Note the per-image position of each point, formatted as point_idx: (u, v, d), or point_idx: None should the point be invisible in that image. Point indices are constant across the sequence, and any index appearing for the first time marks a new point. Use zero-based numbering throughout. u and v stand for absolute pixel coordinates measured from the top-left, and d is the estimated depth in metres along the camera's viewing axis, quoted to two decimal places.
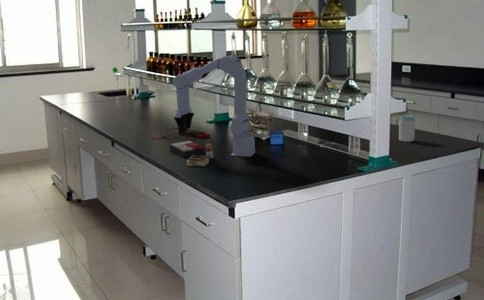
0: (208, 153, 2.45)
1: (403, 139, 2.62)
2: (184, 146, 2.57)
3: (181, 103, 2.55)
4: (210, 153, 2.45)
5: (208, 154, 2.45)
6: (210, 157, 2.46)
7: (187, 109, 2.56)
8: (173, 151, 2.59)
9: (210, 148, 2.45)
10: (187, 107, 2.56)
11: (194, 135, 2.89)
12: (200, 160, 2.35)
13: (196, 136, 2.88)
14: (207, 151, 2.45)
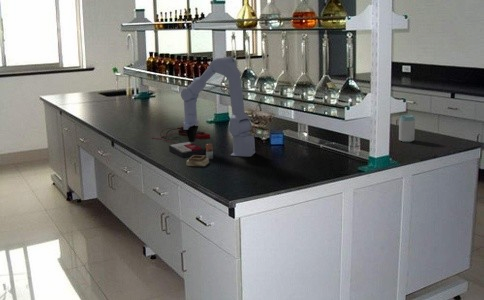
0: (208, 153, 2.45)
1: (403, 139, 2.62)
2: (183, 147, 2.57)
3: (188, 115, 2.62)
4: (210, 153, 2.45)
5: (208, 154, 2.45)
6: (210, 157, 2.46)
7: (194, 121, 2.63)
8: (172, 152, 2.60)
9: (210, 148, 2.45)
10: (194, 119, 2.63)
11: None
12: (200, 160, 2.35)
13: (196, 136, 2.88)
14: (207, 151, 2.45)
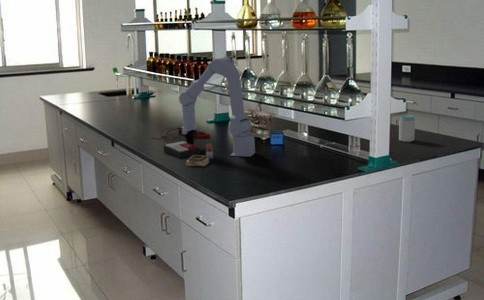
0: (208, 153, 2.45)
1: (403, 139, 2.62)
2: (179, 147, 2.56)
3: (186, 120, 2.60)
4: (210, 153, 2.45)
5: (208, 154, 2.45)
6: (210, 157, 2.46)
7: (193, 125, 2.61)
8: (168, 152, 2.58)
9: (210, 148, 2.45)
10: (193, 124, 2.61)
11: None
12: (200, 160, 2.35)
13: (196, 136, 2.88)
14: (207, 151, 2.45)
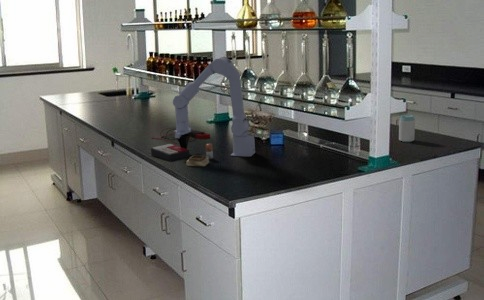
0: (208, 153, 2.45)
1: (403, 139, 2.62)
2: (167, 149, 2.52)
3: (180, 123, 2.52)
4: (210, 153, 2.45)
5: (208, 154, 2.45)
6: (210, 157, 2.46)
7: (186, 129, 2.54)
8: (156, 155, 2.54)
9: (210, 148, 2.45)
10: (186, 127, 2.54)
11: (194, 135, 2.89)
12: (200, 160, 2.35)
13: (196, 136, 2.88)
14: (207, 151, 2.45)
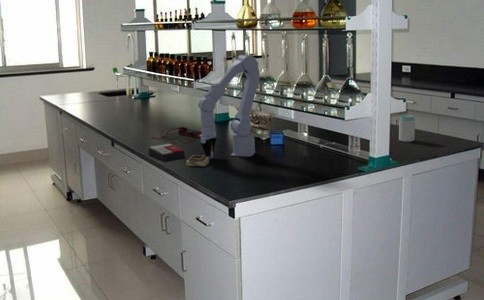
0: None
1: (403, 139, 2.62)
2: (163, 149, 2.53)
3: (205, 127, 2.41)
4: None
5: None
6: (210, 157, 2.46)
7: (212, 134, 2.42)
8: (152, 154, 2.55)
9: None
10: (212, 132, 2.42)
11: (194, 135, 2.89)
12: (200, 160, 2.35)
13: (196, 136, 2.88)
14: None
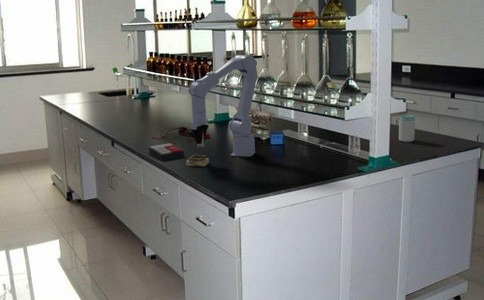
0: None
1: (403, 139, 2.62)
2: (163, 149, 2.53)
3: (196, 114, 2.34)
4: None
5: None
6: (201, 145, 2.39)
7: (203, 120, 2.35)
8: (152, 154, 2.56)
9: None
10: (203, 118, 2.35)
11: None
12: (200, 160, 2.35)
13: None
14: None
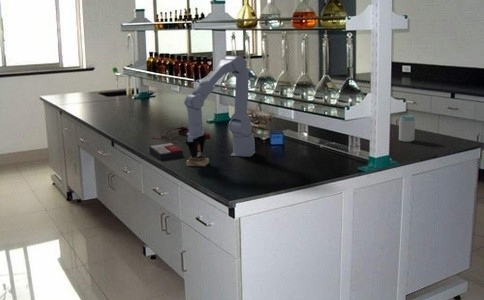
0: None
1: (403, 139, 2.62)
2: (162, 149, 2.54)
3: (193, 125, 2.32)
4: (198, 154, 2.37)
5: None
6: None
7: (200, 132, 2.33)
8: (152, 153, 2.57)
9: (198, 149, 2.36)
10: (200, 130, 2.33)
11: None
12: (200, 160, 2.35)
13: None
14: None
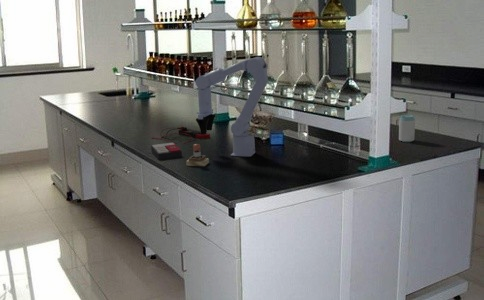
0: (196, 154, 2.36)
1: (403, 139, 2.62)
2: (162, 148, 2.55)
3: (203, 104, 2.48)
4: (198, 154, 2.37)
5: (196, 155, 2.36)
6: None
7: (209, 110, 2.50)
8: (153, 152, 2.58)
9: (198, 149, 2.36)
10: (209, 108, 2.50)
11: (194, 135, 2.89)
12: (200, 160, 2.35)
13: (196, 136, 2.88)
14: (195, 152, 2.36)
